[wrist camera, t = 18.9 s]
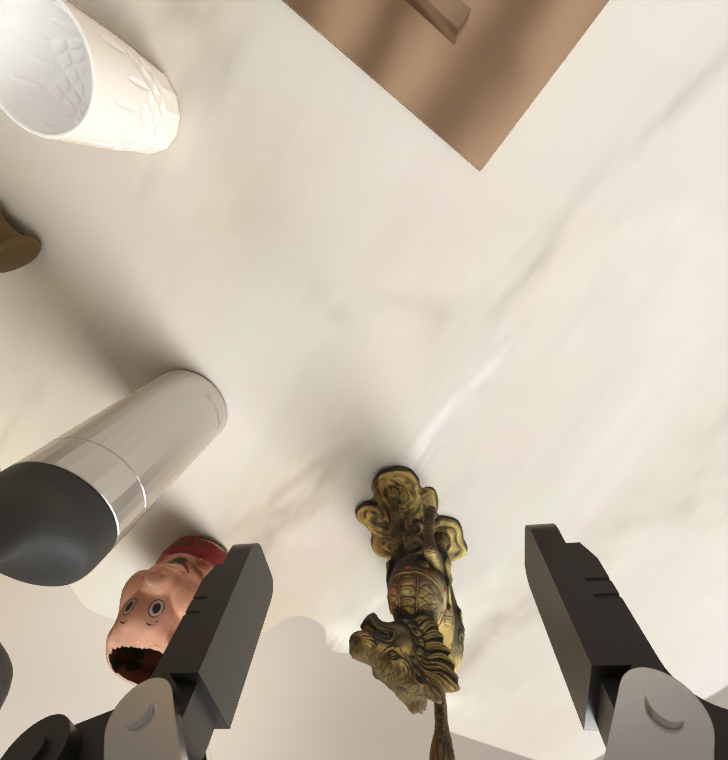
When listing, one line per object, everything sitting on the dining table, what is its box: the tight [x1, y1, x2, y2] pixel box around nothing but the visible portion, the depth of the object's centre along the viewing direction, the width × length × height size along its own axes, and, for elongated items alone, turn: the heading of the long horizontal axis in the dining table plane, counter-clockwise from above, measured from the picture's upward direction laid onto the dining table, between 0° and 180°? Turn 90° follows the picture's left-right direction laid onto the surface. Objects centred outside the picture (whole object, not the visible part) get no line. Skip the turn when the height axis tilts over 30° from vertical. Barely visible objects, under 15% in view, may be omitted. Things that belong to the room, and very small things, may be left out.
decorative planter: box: [106, 537, 228, 686], centre depth 47 cm, size 20×12×14 cm, turn 3°
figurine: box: [349, 466, 467, 760], centre depth 38 cm, size 13×25×20 cm, turn 13°
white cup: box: [0, 0, 180, 154], centre depth 27 cm, size 8×8×10 cm
